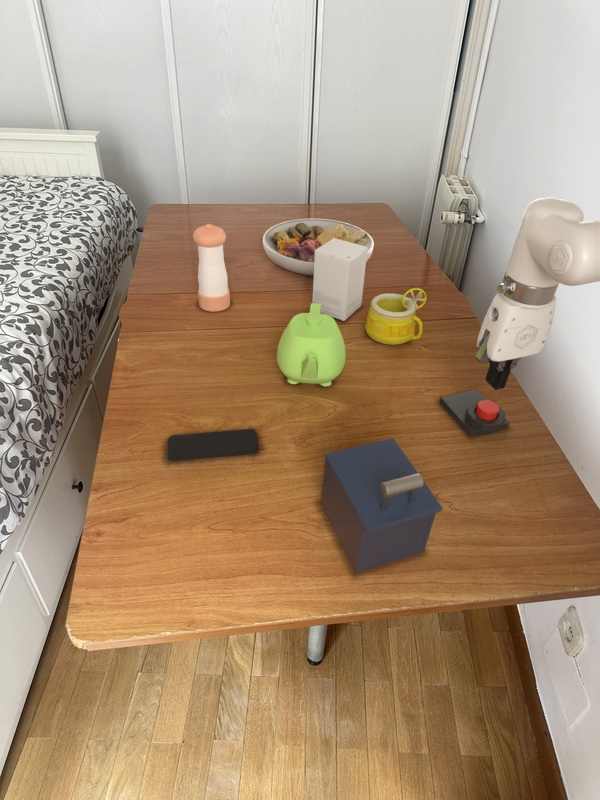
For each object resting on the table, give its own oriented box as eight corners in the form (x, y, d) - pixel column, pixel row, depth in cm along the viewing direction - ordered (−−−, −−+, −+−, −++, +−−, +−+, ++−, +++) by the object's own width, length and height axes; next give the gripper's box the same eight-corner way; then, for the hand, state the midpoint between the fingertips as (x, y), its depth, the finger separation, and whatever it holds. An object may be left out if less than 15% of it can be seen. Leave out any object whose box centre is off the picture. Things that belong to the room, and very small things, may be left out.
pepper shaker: (204, 314, 123) (196, 232, 111) (195, 299, 128) (187, 220, 116) (234, 308, 125) (230, 228, 113) (224, 294, 130) (220, 216, 118)
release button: (500, 418, 94) (503, 410, 93) (483, 422, 93) (485, 415, 92) (488, 405, 97) (491, 398, 96) (471, 409, 96) (473, 402, 95)
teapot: (343, 407, 99) (350, 350, 91) (271, 401, 99) (271, 344, 91) (344, 346, 114) (349, 293, 106) (281, 342, 115) (282, 289, 107)
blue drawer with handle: (441, 511, 68) (450, 483, 65) (366, 533, 65) (371, 504, 62) (392, 441, 78) (398, 413, 75) (325, 457, 75) (327, 429, 72)
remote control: (256, 435, 93) (167, 440, 90) (256, 427, 92) (166, 433, 89) (259, 455, 89) (166, 461, 87) (259, 447, 88) (166, 454, 86)
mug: (354, 337, 117) (360, 288, 110) (378, 317, 124) (385, 269, 117) (408, 358, 112) (418, 307, 104) (429, 335, 119) (440, 286, 112)
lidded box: (424, 552, 75) (438, 507, 69) (355, 573, 72) (363, 528, 66) (383, 487, 84) (392, 442, 78) (320, 503, 81) (325, 458, 75)
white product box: (362, 306, 128) (369, 246, 119) (344, 322, 122) (350, 260, 113) (329, 295, 132) (334, 236, 122) (310, 310, 126) (313, 249, 116)
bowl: (277, 229, 162) (277, 203, 157) (376, 241, 158) (379, 214, 153) (250, 273, 139) (249, 244, 134) (365, 287, 135) (369, 258, 130)
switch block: (511, 432, 95) (516, 419, 93) (473, 441, 93) (477, 429, 91) (475, 394, 103) (479, 381, 102) (439, 402, 101) (442, 389, 99)
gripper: (501, 306, 74) (469, 406, 86) (586, 292, 79) (544, 389, 91) (471, 281, 80) (444, 379, 92) (552, 269, 84) (516, 364, 96)
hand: (494, 384), depth 91 cm, fingers closed
